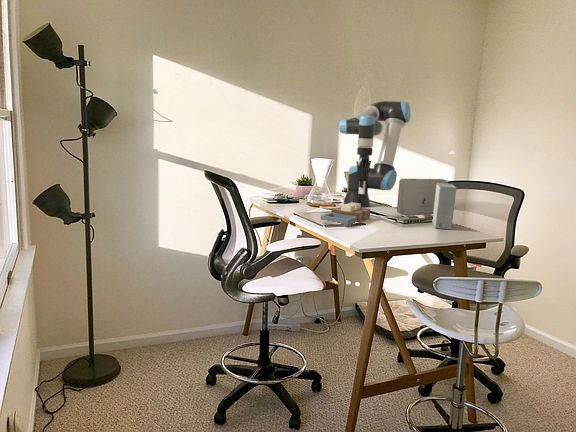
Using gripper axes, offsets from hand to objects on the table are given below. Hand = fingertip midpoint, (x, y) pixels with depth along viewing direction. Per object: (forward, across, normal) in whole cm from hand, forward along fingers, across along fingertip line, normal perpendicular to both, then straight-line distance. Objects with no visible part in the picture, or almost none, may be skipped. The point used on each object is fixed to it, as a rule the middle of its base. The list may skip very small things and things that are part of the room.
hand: (361, 193), depth 238 cm
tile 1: (+7, +14, 0) cm, 16 cm away
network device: (+12, -20, +25) cm, 34 cm away
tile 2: (+7, +8, 0) cm, 11 cm away
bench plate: (+12, +11, 0) cm, 16 cm away
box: (+12, +24, 0) cm, 27 cm away
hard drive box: (+12, -6, +40) cm, 42 cm away
